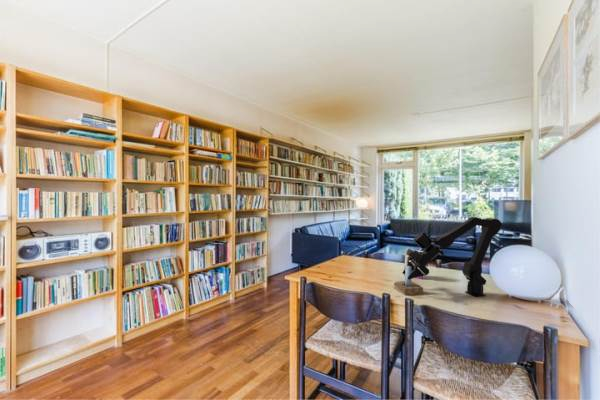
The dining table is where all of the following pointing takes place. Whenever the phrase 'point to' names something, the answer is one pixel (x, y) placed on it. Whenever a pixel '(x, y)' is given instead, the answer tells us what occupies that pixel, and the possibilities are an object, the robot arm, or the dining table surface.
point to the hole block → (408, 288)
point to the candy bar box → (406, 263)
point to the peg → (407, 272)
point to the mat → (404, 281)
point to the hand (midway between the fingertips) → (405, 276)
